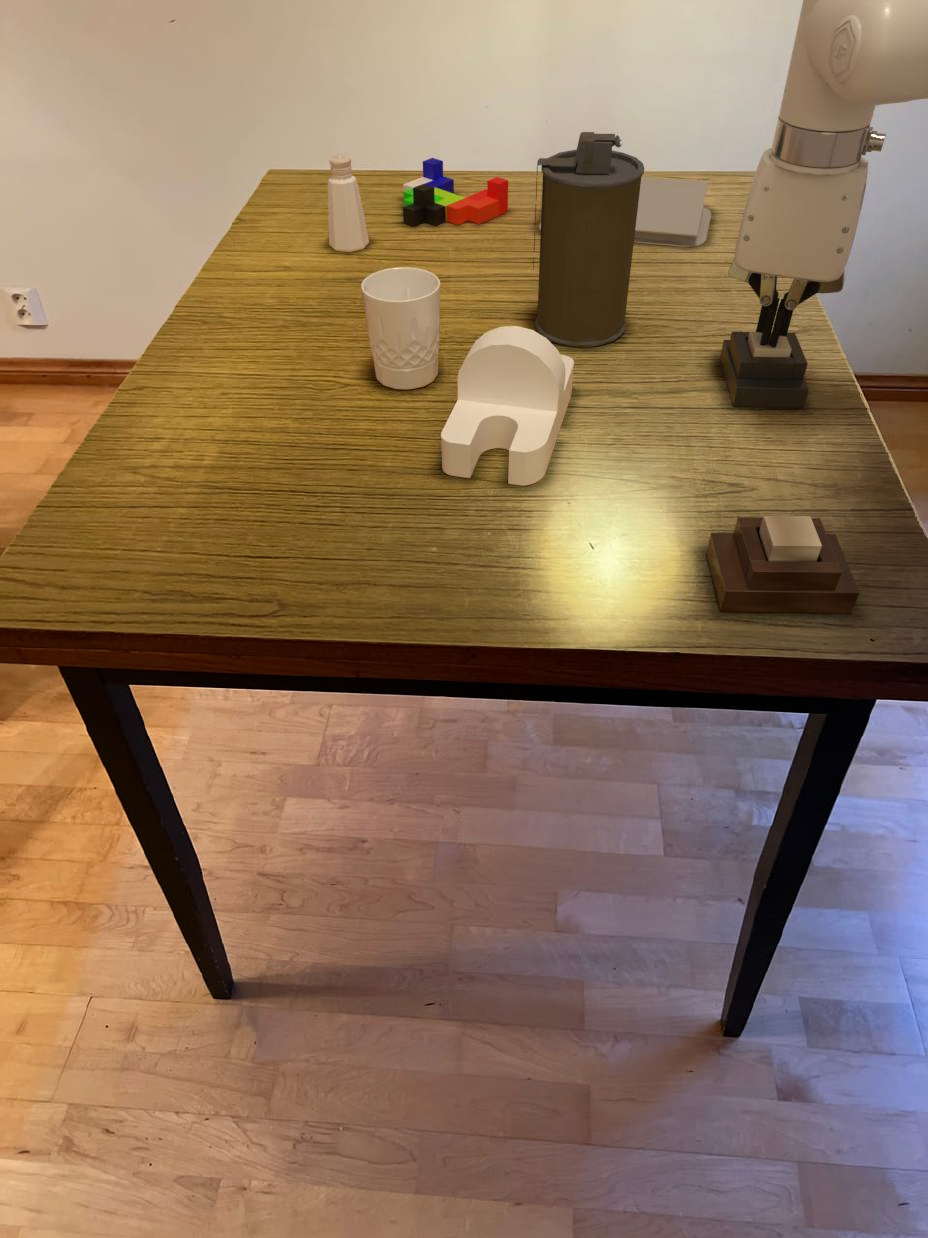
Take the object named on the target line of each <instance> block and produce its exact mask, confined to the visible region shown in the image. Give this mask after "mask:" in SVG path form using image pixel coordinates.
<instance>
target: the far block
mask: <svg viewBox="0 0 928 1238" xmlns="http://www.w3.org/2000/svg"><path fill="white" fill-rule="evenodd" d="M750 332H751V331H731V334H730V338H729V339H723V341H722V345H721V346H722V347H721V351H720V356H719V359H720V363H721V366H722V370H723V374H724V377H725V381H726V385H727V388H728V393H729V396H730V400H731V404H732V406H733V407H737V408H739V407H740V408H775V409H777V408H778V409H779V408H780V409H781V408H783V409H785V408H787V409H804V408H805V404H806V401H807V398H808V394H809V391H810V388H809V385H808V383H807V380H806V378H805V374H806V371H807V368H808V361H807V358H806V356H805V354H804V351H803V348H802V346H801V344H800V342H799V339H798V337H797V334H796V332H788V333H787V336H786V337H787V339H788V342H789V344H790V347H791V354H790V357H751V354H750V351H749V348H748V345H747V341H748V337H749V333H750ZM771 333H772V332H771Z"/></svg>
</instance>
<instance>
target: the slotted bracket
mask: <svg viewBox="0 0 928 1238" xmlns="http://www.w3.org/2000/svg"><path fill="white" fill-rule="evenodd" d="M574 366H575V361H574V359H573V358H572V357H571V356H568V355H566V354H560V352H559V350H558V349H557V348H556V347H555V345H554V344H552V341H549V340H548V339H547V338H545V337H544V336H542V335H541V334H539V332H538V331H535V330H534V329H530V328H526V327H523V326H519V325H507V326H506V325H505V326H498V327H496V328H493V329H491V330H488V331H486V332H484V333H483V335H482V334H481V336H480V337H479V338H477V339H476V340H475V341H474V343H473V345H472V346H471V348H470V350H469V351H468V353H467V355H466V357H465V358H464V360H463V362H462V364H461V365H460V367H459V370H458V372H457V383H456V385H457V401H456V403H455V404H454V407H453V409H452V411H451V412H450V415H449V416H448V418H447V420H446V422H445V424H444V426H443V428H442V430H441V432H440V445H441V446H440V447H441V469H442V471H443V473H445V474H446V475H448V476H453V477H458V478H465V479H471V477H472V475H473V472H474V470H475V468H476V466H477V463H478V461H479V459H480V457H481V455H482V454H483V453H484V452H486V451H489V450H492V449H501V450H502V449H504V450H507V451H508V477H507V478H508V480H507V481H508V485H515V486H522V487H524V486H529V485H532V484H535V483H537V482H540V481H541V480H542V479H543V478H544V477H545V475H546V473H547V471H548V467H549V464H550V461H551V458H552V455H553V452H554V449H555V447H556V443H557V441H558V438H559V433H560V431H561V427H562V424H563V421H564V420H565V419H564V418H565V416H566V412H567V410H568V407H569V404H570V401H571V397H572V393H573V392H572V391H573V379H574V368H575V367H574Z"/></svg>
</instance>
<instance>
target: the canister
mask: <svg viewBox="0 0 928 1238" xmlns="http://www.w3.org/2000/svg"><path fill="white" fill-rule="evenodd" d="M578 137H579V138H578V142H577V146H576V149H571V150H566V151H559V152H558V153H556V154H553V155H551V156H549V157H540V158H539V159H537V163H536V174H538V173H539V172H538V171H539V170H538V169H539V168H538V167H539V166H541V173H542V185H541V186H542V187H541V189H542V190H541V213H540V215H541V216H540V222H541V230H540V236H539V237H540V239H539V240H540V242H539V266H538V267H539V268H538V292H537V316H536V318H535V320H534V326H535V329H536V332H537V333H539V334H540V335H542V336H544V337H545V338H547V339H548V340H549V341H550V342H551V343H552V342H553V343H555V344H558V345H559V346H567V347H574V348H577V347H578V348H594V347H598V346H603V345H607V344H611V343H612V342H614V341H616V340H617V339H619V338H621V337H622V335H623V334H624V333H625V332H626V327H627V323H626V313H627V304H628V297H629V295H628V294H629V287H630V279H631V271H632V261H633V252H634V243H635V242H634V236H635V228H636V219H637V211H638V202H639V193H640V185H641V177H643V175H644V174H645V165H644V163H643V162H642V161H641V160H639V158H637V157H636V156H633V155H630V154H627V153H625V152H622V151H618V150H613V147H614V146H615V147H616V148H621V147H622V145H623V144H622V143H621V142H622V139H620V138H621V137H620V136H619V135H618V134H617V135H616V134H615V133H595V131H582V132H580V134H579V136H578ZM535 183H536V184H535V200H537V196H538V191H537V190H538V179H536V182H535ZM536 220H537V205H535V210H534V225H536V224H537V223H536ZM533 234H534V235H533V251H535V250H536V249H535V248H536V247H535V244H536V232H534V233H533ZM532 262H533V263H532V269H534V267H535V258H533V260H532Z"/></svg>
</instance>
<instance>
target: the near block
mask: <svg viewBox="0 0 928 1238" xmlns="http://www.w3.org/2000/svg"><path fill="white" fill-rule="evenodd" d="M811 519H812V521H813V524H814V527H815V529H816V532H817V534H818V537H819V539H820V542H821V544H822V547H821V550H820V553H819V556H818V559H817V562H792V561H768V560H767V557H766V554H765V551H764V547H763V544H762V541H761V538H760V535H759V531H760V527H761V523H762V520H763V516H761V517H760V516H758V517H756V516H755V517H754V516H753V517H750V516H743V517H742V516H738V517H737V519H736V521H735V526H734V530H733V532H710V535H709V539H708V544H707V548H706V557H707V561H708V566H709V570H710V573H711V578H712V582H713V586H714V591H715V595H716V599H717V602H718V607H719V611H720V612H726V613H727V612H733V613H734V612H735V613H737V612H739V613H741V612H742V613H743V612H744V613H799V614H800V613H801V614H802V613H805V614H806V613H808V614H811V613H812V614H852V613H853V610H854V607H855V605H856V603H857V600H858V599H859V596H860V589H859V588H858V586H857V583H856V581H855V578H854V576H853V573H852V571H851V569H850V566H849V564H848V561H847V559H846V556H845V554H844V552H843V549H842V547H841V544H840V542H839V539H838V537H837V535H836V533H827V532H826V529H825V527H824V523H823V521H822V519H821V517H811Z"/></svg>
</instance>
